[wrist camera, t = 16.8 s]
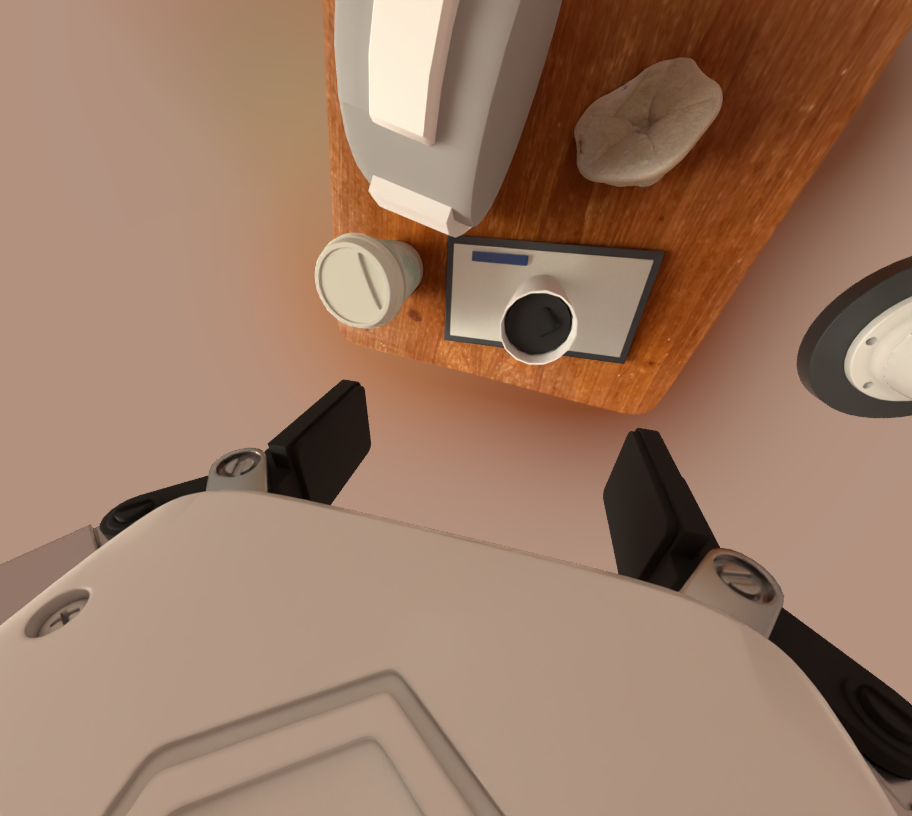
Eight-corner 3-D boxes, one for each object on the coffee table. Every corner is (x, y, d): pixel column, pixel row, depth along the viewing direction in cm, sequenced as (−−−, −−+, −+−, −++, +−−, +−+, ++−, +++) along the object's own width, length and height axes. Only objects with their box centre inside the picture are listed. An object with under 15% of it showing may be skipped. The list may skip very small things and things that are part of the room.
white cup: (549, 256, 34) (551, 272, 25) (581, 308, 36) (592, 339, 27) (497, 295, 37) (484, 320, 29) (529, 341, 39) (525, 377, 31)
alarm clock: (477, -54, 25) (342, -587, 8) (578, -13, 25) (650, -467, 8) (419, 205, 35) (305, 203, 18) (490, 235, 35) (442, 260, 18)
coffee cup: (425, 312, 41) (388, 346, 31) (364, 290, 41) (307, 316, 32) (442, 241, 36) (404, 254, 26) (372, 216, 37) (309, 219, 27)
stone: (615, 48, 27) (748, -27, 19) (652, 112, 30) (776, 72, 22) (546, 176, 29) (636, 158, 21) (588, 221, 33) (678, 220, 25)
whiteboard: (661, 250, 32) (667, 252, 31) (622, 360, 39) (625, 366, 37) (450, 234, 36) (445, 235, 34) (446, 336, 42) (442, 341, 41)
